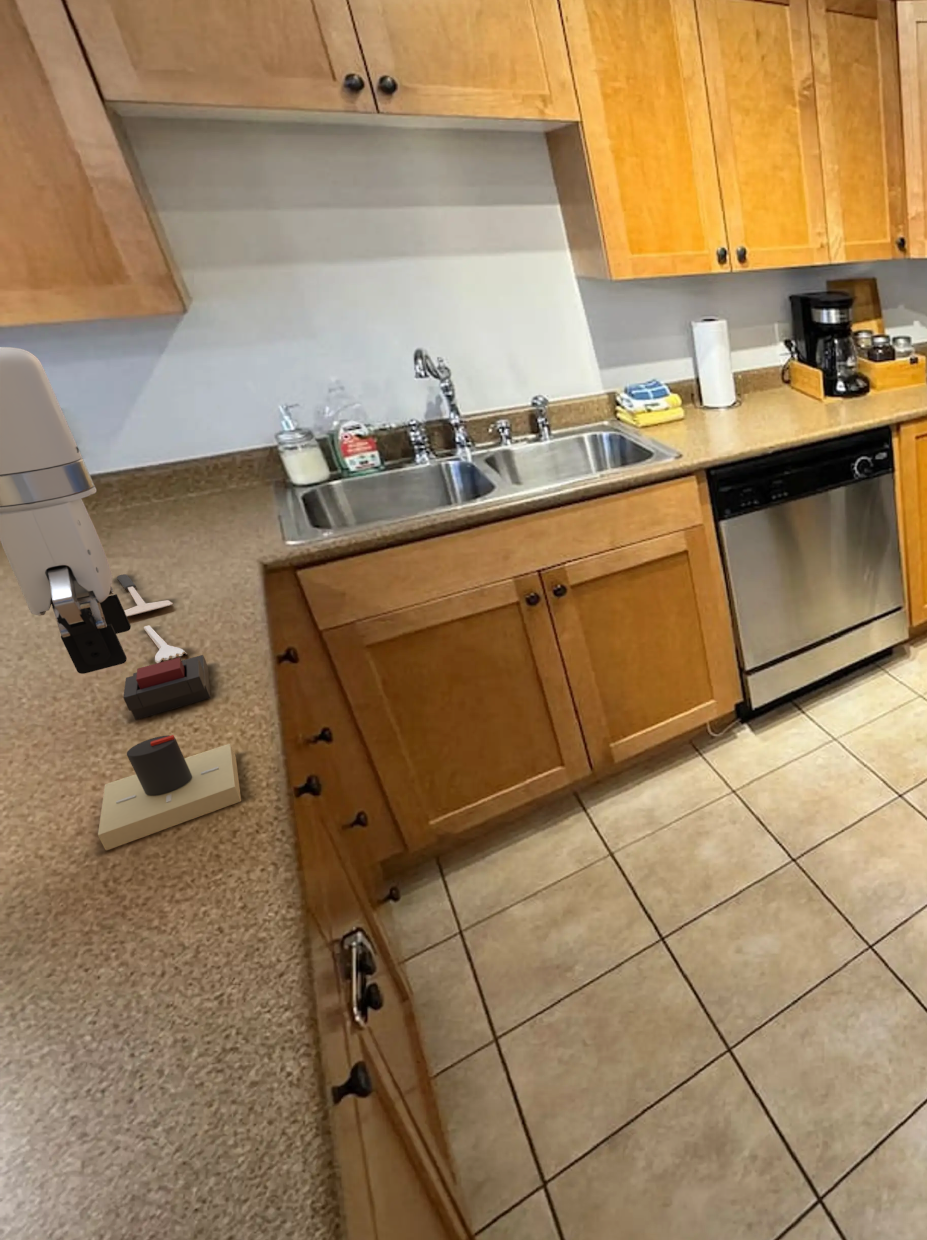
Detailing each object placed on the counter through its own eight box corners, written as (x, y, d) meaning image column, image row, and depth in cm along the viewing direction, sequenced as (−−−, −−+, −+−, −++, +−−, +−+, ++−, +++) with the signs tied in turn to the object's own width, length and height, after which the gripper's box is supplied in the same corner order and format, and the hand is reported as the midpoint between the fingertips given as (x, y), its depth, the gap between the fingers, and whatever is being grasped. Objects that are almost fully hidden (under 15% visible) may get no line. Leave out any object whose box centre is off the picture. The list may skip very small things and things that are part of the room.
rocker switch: (138, 685, 106) (127, 660, 104) (208, 666, 110) (197, 642, 109) (135, 725, 96) (122, 697, 95) (211, 702, 101) (199, 676, 100)
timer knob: (144, 800, 79) (124, 758, 78) (146, 784, 82) (126, 743, 80) (192, 784, 82) (173, 742, 80) (192, 769, 84) (174, 728, 82)
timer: (112, 799, 83) (104, 782, 82) (236, 757, 90) (229, 741, 89) (105, 851, 76) (96, 833, 75) (241, 801, 82) (234, 785, 81)
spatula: (124, 625, 124) (120, 617, 123) (98, 583, 141) (95, 576, 140) (176, 611, 128) (173, 603, 128) (145, 572, 145) (142, 565, 145)
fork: (162, 626, 123) (158, 616, 122) (193, 661, 112) (188, 649, 111) (134, 634, 120) (129, 623, 120) (162, 670, 109) (157, 659, 109)
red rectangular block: (142, 680, 100) (137, 668, 99) (184, 668, 103) (179, 657, 102) (141, 691, 97) (135, 679, 97) (185, 679, 100) (180, 667, 99)
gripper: (-17, 477, 74) (59, 635, 80) (-53, 516, 62) (39, 698, 68) (97, 461, 79) (161, 611, 85) (83, 495, 67) (158, 666, 73)
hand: (107, 650), depth 76 cm, fingers open, 9 cm apart
